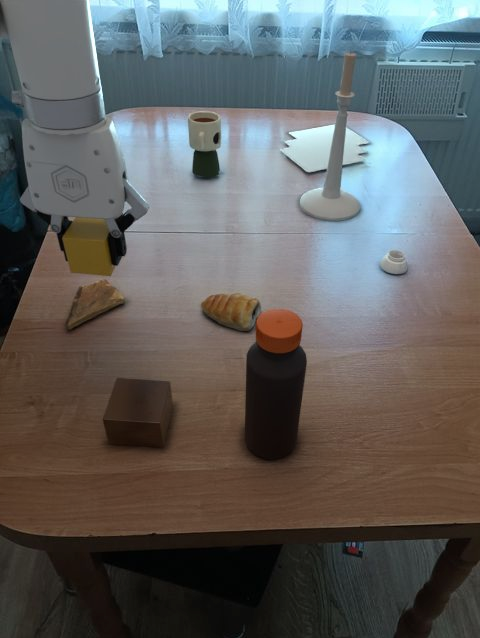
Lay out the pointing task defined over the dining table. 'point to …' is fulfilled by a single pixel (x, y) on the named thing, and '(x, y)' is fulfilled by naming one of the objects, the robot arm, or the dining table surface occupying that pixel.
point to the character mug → (205, 142)
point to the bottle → (274, 384)
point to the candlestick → (335, 162)
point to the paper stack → (321, 147)
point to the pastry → (233, 310)
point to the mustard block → (88, 247)
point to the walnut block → (138, 412)
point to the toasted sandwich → (93, 302)
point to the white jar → (394, 262)
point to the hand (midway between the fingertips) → (95, 256)
